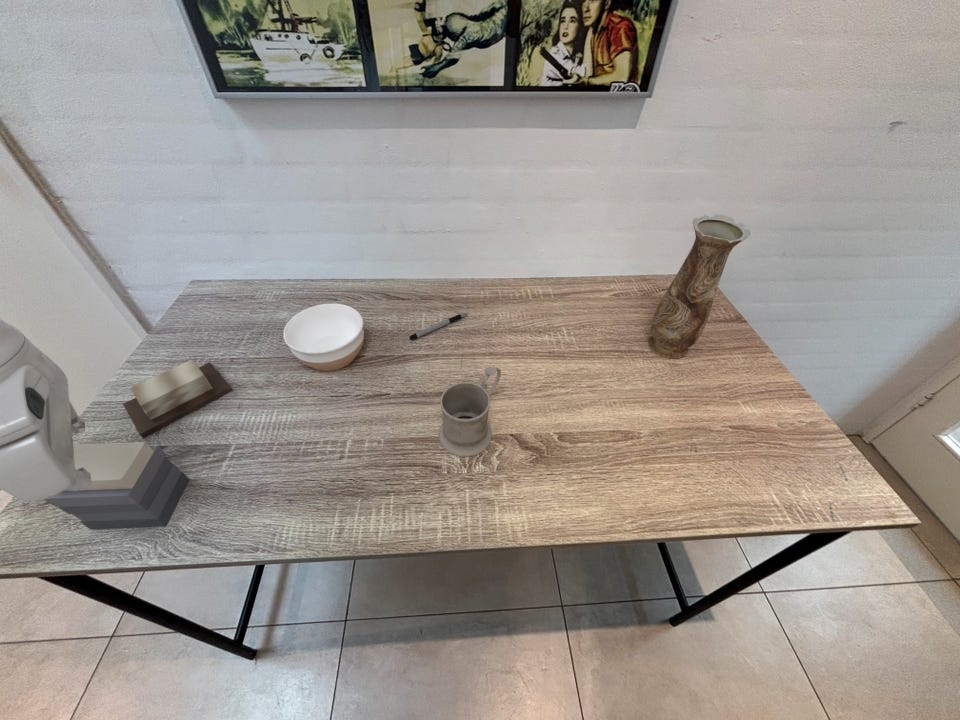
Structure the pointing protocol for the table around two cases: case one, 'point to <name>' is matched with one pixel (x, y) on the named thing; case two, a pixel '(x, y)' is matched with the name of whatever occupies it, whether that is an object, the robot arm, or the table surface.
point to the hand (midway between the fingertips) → (80, 455)
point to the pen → (437, 326)
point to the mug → (472, 402)
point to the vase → (694, 286)
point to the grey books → (129, 498)
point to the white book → (112, 463)
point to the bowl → (325, 336)
